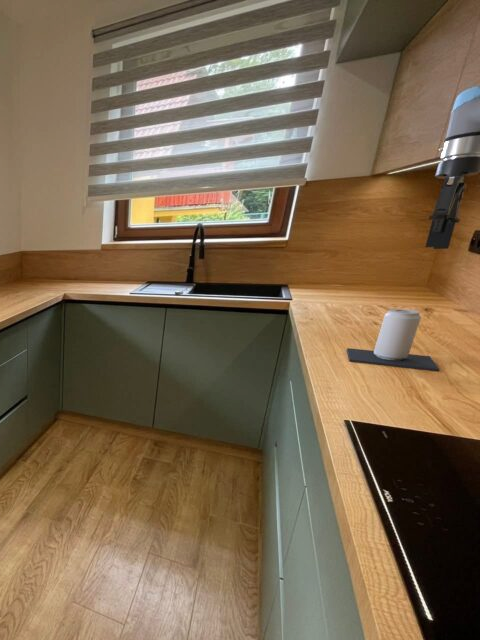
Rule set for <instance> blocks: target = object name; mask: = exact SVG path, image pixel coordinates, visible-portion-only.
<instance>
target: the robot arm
mask: <svg viewBox="0 0 480 640" xmlns="http://www.w3.org/2000/svg"><path fill="white" fill-rule="evenodd" d="M449 116H450V118H449V122H448V127H447V131H446V135H445V139H444V143H443V147H440V148H439V149H438V152H439V153H441V154H440V158H439V160H441V161H440V162H439V163H438V164H437V168H436V172H435V175H434V177H435V178H436V179H439V180H440V179H441V180H443V181H442V182H443V183H442V185H441V186H440V192H439V194H438V198H437V201H436V203H435V207H434V210H433V212H432V213H431V215H429V216H428V220H429V221H430V220H431V224H430V228H429V232H428V234H427V239H426V242H425V248H432V249H433V250H446V249H447V250H448V249H449V248H450V244H451V239H452V237H453V233H454V230H455V225H456V224H459V223H460V222H461V218H459V211H460V206H461V202H462V199H463V197H464V193H465V190H466V188H467V183H466V182H465V181H464V179H465V177H471V176H475V175H477V174H479V173H480V85H477V86H473V87H470V88H467V89H466V90H463V91H462V92H460V93H459V94H458V95H457V96H456V98H455V100H454V104H453V107H452V110H451V112H450V115H449Z"/></svg>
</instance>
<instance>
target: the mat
mask: <svg viewBox="0 0 480 640" xmlns="http://www.w3.org/2000/svg"><path fill="white" fill-rule="evenodd" d="M346 353H347V358H348V362H351V363H359V364H369V365H378V366H387V367H395V368H396V367H397V368H405V369H413V370H422V371H429V372H430V371H431V372H440V370H441V369H440V368H439V366H438V365H437V364H436V363H435V361H434V360H433V359H432V357H431V356H430V355H423V354H422V355H421V354H411V353H409V355H408V357H407V358H405V359H403V360H387V359H382V358H379V357H377V356H376V355H375V354H374V350H370V349H361V348H351V347H348V348H346Z"/></svg>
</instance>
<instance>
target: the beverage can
mask: <svg viewBox="0 0 480 640" xmlns="http://www.w3.org/2000/svg"><path fill="white" fill-rule="evenodd" d="M420 314H421V311H419V310H414V309H405V308H390V309H388V310H387V312H386V313H385V314H384V316H383V319H382V323H381V326H380V329H379V331H378V332H379V333H378V336H377V339H376V343H375V346H374V350H373V351H374V354H375V355H376V356H377V357H379V358H382V359H387V360H403V359H405V358H407V357H408V355H409V354H410V352H411V349H412V346H413V343H414V341H415V336H416V333H417V330H418V327H419V325H420V322H421V318H422V317H421V315H420Z"/></svg>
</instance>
